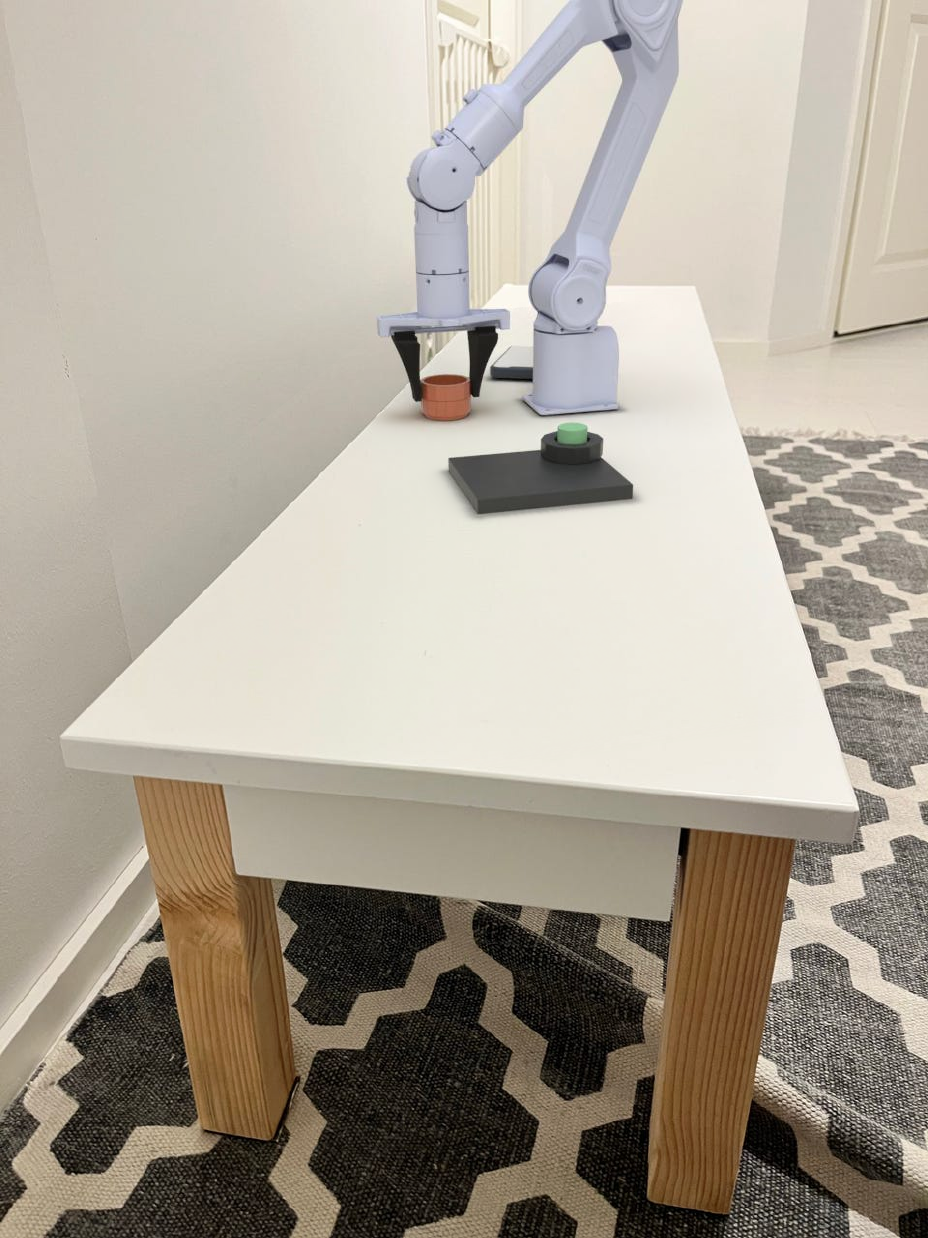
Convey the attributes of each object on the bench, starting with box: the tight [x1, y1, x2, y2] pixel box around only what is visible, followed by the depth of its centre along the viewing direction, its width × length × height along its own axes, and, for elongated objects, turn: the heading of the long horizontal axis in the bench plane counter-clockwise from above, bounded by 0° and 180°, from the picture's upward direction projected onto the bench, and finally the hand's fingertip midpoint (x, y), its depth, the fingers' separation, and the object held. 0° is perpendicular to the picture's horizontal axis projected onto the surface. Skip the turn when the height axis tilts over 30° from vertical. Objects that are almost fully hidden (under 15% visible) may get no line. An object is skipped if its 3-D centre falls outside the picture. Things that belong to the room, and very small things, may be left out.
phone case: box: [489, 345, 533, 380], centre depth 131 cm, size 9×2×16 cm
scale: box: [447, 430, 634, 515], centre depth 89 cm, size 14×12×3 cm
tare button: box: [557, 422, 588, 444], centre depth 92 cm, size 3×3×2 cm
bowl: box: [420, 373, 472, 422], centre depth 110 cm, size 6×6×4 cm
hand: (445, 397), depth 110 cm, fingers open, 6 cm apart
